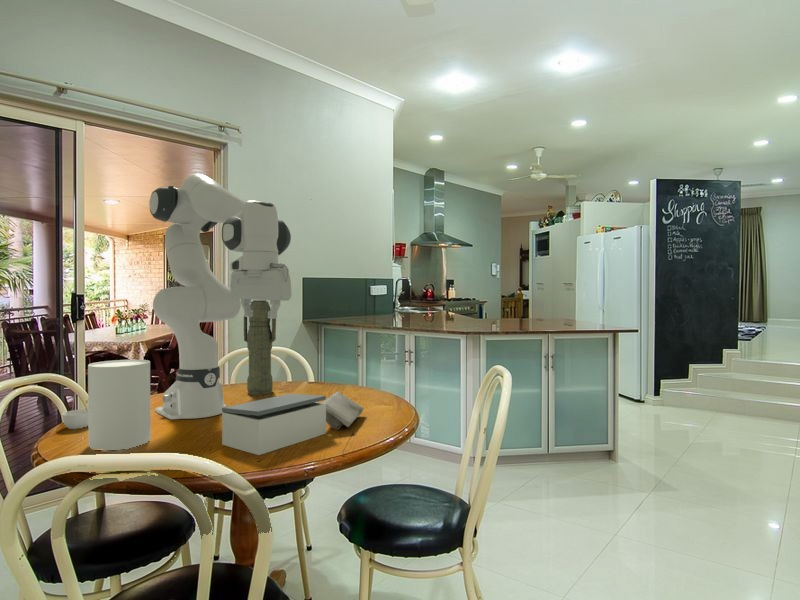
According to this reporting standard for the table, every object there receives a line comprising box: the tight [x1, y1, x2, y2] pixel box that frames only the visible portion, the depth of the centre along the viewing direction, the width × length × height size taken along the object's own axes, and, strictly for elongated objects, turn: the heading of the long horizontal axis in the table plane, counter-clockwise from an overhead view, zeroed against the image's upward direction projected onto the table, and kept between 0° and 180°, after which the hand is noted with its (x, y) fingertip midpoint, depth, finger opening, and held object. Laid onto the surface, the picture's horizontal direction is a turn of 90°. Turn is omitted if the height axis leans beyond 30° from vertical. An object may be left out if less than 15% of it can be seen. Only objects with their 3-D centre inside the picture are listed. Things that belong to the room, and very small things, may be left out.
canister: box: [87, 359, 152, 451], centre depth 125 cm, size 14×14×20 cm
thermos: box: [243, 299, 277, 396], centre depth 183 cm, size 9×12×35 cm
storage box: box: [221, 401, 327, 456], centre depth 129 cm, size 14×22×8 cm, turn 144°
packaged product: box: [321, 391, 364, 431], centre depth 143 cm, size 18×5×10 cm
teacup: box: [62, 408, 88, 430], centre depth 139 cm, size 10×10×5 cm
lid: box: [222, 393, 327, 416], centre depth 129 cm, size 14×22×1 cm, turn 144°
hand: (260, 317), depth 129 cm, fingers open, 8 cm apart
